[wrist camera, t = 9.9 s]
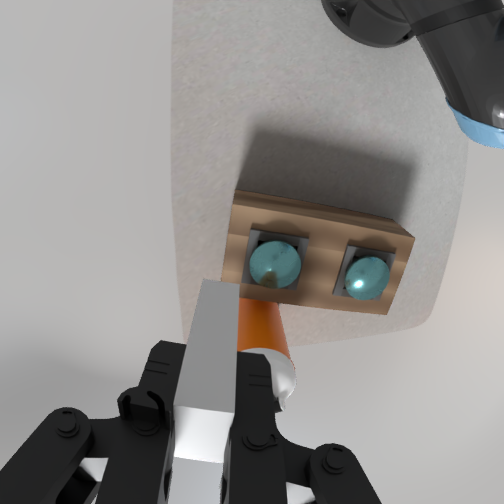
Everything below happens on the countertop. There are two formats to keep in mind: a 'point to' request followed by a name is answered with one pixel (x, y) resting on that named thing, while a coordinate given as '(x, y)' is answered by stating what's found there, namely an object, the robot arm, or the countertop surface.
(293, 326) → the countertop surface
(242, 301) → the shaker bottle
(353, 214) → the socket block
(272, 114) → the countertop surface
